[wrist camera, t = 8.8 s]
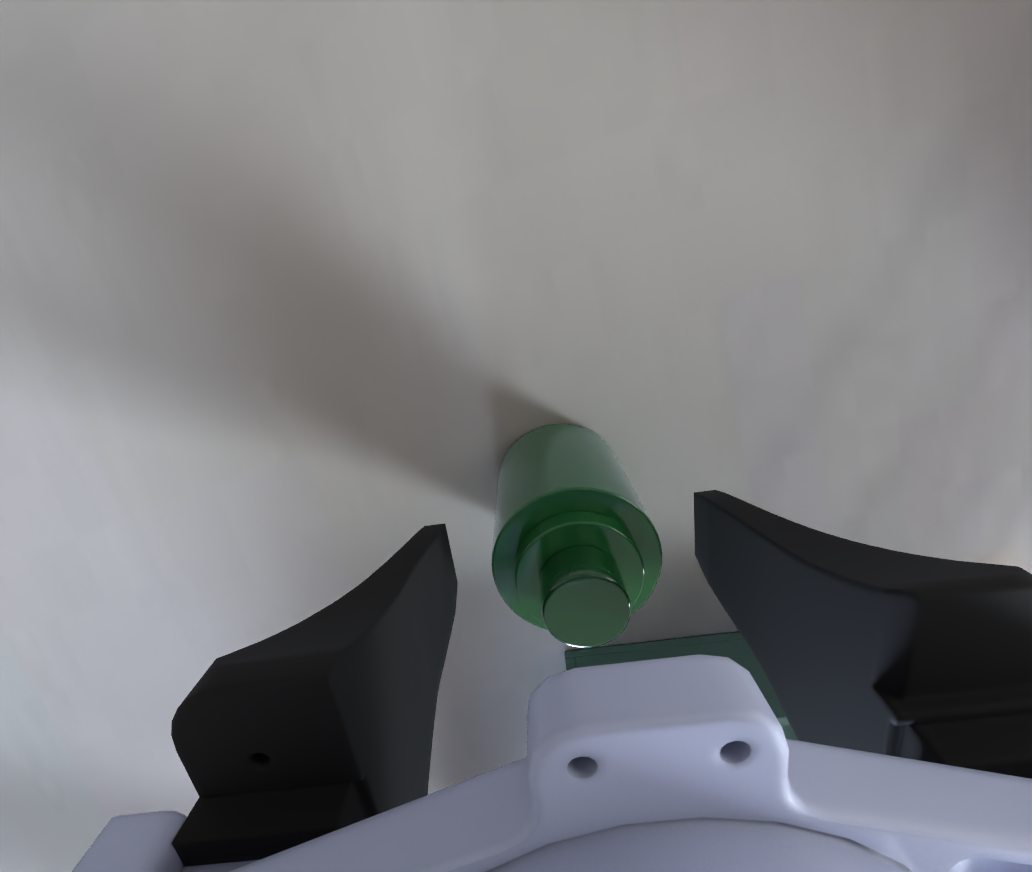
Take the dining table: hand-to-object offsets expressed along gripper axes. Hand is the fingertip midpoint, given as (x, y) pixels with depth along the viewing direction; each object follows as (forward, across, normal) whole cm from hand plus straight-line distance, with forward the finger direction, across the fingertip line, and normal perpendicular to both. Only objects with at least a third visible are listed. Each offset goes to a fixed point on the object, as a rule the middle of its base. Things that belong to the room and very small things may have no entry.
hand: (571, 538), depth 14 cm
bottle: (+4, 0, 0) cm, 4 cm away
